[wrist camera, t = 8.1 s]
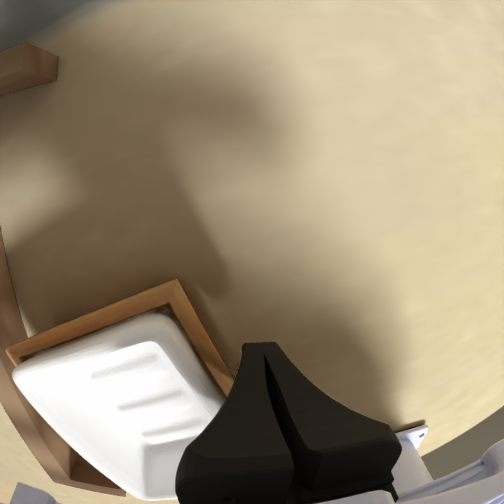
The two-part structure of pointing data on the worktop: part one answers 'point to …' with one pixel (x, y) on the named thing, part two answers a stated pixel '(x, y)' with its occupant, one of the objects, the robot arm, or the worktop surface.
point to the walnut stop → (11, 326)
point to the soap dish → (127, 386)
